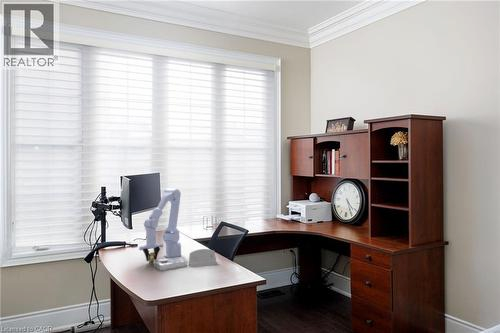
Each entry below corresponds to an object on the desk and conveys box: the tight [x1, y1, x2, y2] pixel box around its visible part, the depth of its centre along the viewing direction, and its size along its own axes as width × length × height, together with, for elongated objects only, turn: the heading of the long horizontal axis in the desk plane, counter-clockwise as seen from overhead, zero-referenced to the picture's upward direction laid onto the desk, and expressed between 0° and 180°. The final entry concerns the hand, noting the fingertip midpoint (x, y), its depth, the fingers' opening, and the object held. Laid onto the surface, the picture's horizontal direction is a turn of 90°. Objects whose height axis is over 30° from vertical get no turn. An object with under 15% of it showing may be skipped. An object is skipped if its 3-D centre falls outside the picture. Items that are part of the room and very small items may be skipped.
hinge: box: [188, 248, 218, 268], centre depth 221 cm, size 17×5×10 cm, turn 108°
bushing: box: [148, 251, 155, 265], centre depth 224 cm, size 4×4×6 cm
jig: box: [153, 256, 188, 272], centre depth 217 cm, size 16×12×3 cm
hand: (151, 260), depth 224 cm, fingers closed on bushing, 4 cm apart
